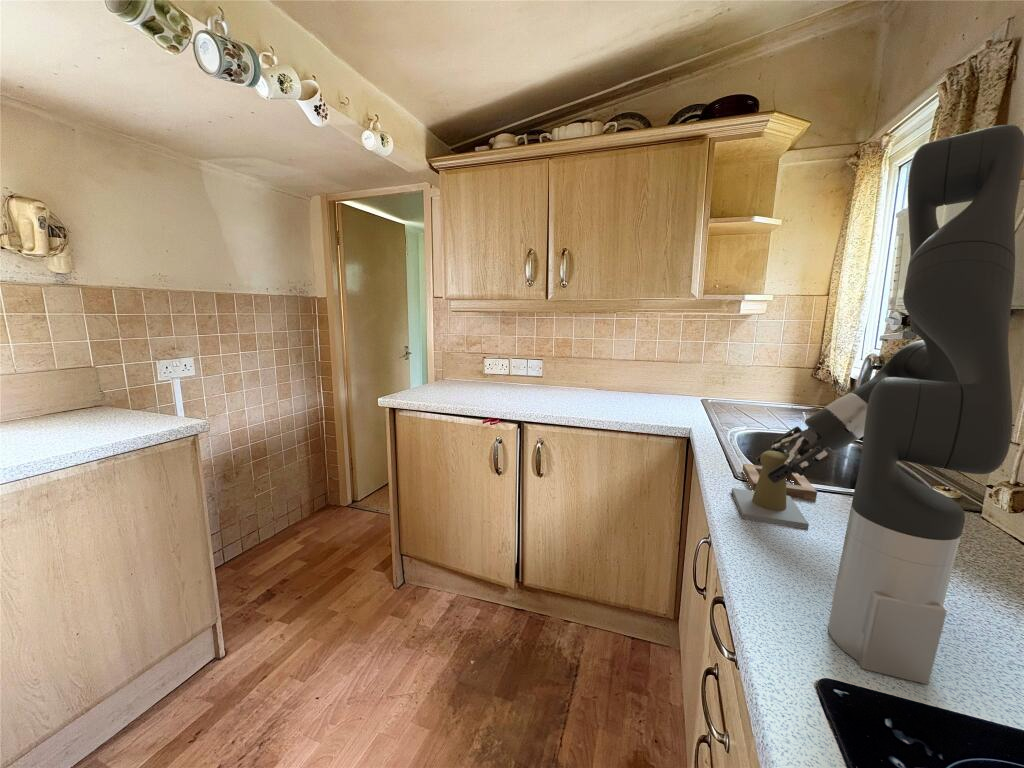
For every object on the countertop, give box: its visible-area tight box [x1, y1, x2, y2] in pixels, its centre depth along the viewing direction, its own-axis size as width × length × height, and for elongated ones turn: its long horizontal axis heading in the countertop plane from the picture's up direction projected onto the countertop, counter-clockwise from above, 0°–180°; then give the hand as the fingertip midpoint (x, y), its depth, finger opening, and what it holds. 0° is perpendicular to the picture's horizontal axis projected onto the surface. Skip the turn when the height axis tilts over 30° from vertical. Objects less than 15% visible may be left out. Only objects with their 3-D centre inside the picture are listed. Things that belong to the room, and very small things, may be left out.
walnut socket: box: [742, 463, 818, 501], centre depth 96 cm, size 12×12×2 cm
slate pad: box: [731, 487, 810, 530], centre depth 84 cm, size 12×11×1 cm
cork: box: [752, 450, 789, 511], centre depth 83 cm, size 6×6×11 cm
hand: (764, 470), depth 83 cm, fingers open, 8 cm apart
